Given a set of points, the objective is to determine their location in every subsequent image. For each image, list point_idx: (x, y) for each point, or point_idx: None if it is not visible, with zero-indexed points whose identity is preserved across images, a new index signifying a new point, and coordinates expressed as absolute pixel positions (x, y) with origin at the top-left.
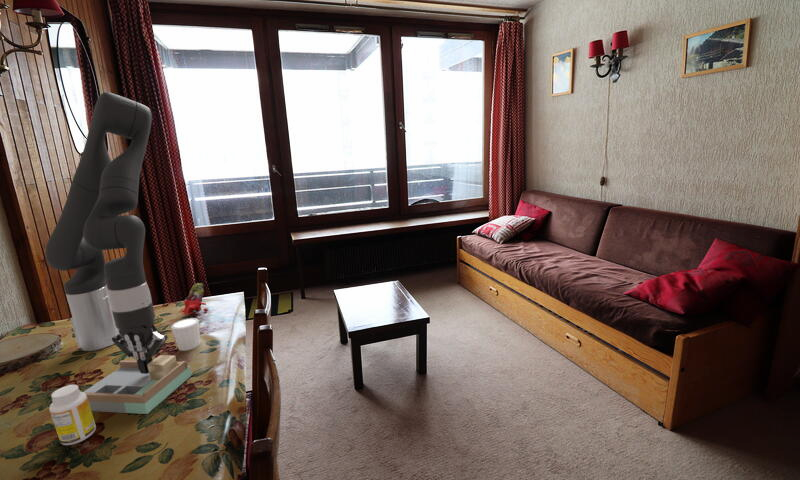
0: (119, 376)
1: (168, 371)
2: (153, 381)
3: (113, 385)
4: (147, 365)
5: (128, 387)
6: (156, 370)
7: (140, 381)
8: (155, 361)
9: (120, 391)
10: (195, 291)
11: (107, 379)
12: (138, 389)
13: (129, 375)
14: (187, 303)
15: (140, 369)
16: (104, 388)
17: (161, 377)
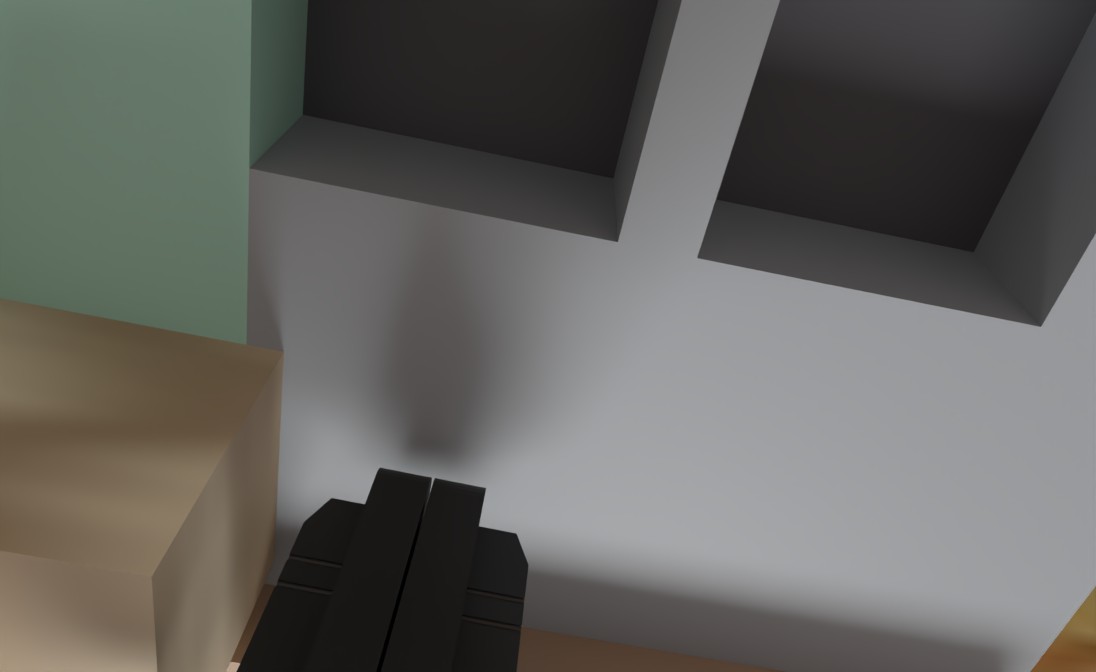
0: (905, 516)
1: None
2: (200, 302)
3: (885, 295)
4: (165, 557)
5: (588, 224)
6: (15, 438)
7: (444, 336)
8: (55, 648)
9: (654, 102)
10: None
11: (1076, 474)
12: (400, 172)
13: (750, 517)
14: None
15: (458, 540)
16: (1037, 275)
17: (28, 338)
